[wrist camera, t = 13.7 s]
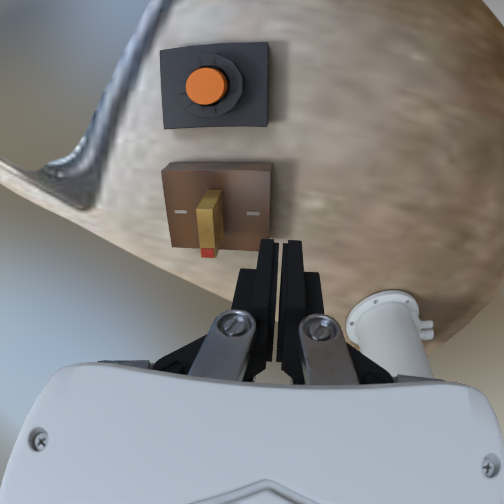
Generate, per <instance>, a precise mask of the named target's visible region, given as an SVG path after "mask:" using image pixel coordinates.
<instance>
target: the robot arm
mask: <svg viewBox="0 0 504 504" xmlns="http://www.w3.org/2000/svg"><path fill="white" fill-rule="evenodd" d="M278 252H279V243H274V239H261V241H260V248H259V255H258V262H257V268H256V269H243V268H241V269H240V272H239V276H238V281H237V285H236V290H235V294H234V298H233V303H232V307H231V310H227V311H225V312H222V313H221V314H219V315H218V316H217V317H216V318H215V320H214V322H213V324H212V326H211V328H210V330H209V332H208V334H207V335H205V336H203V337H201V338H199V339H197V340H195V341H193V342H191V343H190V344H188V345H186V346H184V347H182V348H180V349H178V350H176V351H174V352H172V353H170V354H168V355H166V356H164V357H162V358H161V359H159V360H158V361H157V362H156V363H150V361H149V360H136V361H106V360H104V361H98V362H95V363H94V362H88V363H79V364H73V365H69V366H66V367H63V368H61V369H60V370H58V371H57V372H56V373H55V374H53V375H52V377H51V378H50V379H49V380H48V381H47V383H46V384H45V386H44V387H43V389H42V390H41V392H40V394H39V395H38V397H37V398H36V400H35V402H34V404H33V406H32V408H31V410H30V411H29V413H28V416H27V418H26V420H25V422H24V424H23V426H22V429H21V431H20V433H19V436H18V438H17V441H16V443H15V446H14V448H13V451H12V453H11V456H10V459H9V461H8V464H7V468H6V471H5V474H4V477H3V481H2V485H1V488H0V504H504V439H503V435H502V432H501V429H500V425H499V423H498V420H497V417H496V414H495V412H494V410H493V408H492V406H491V404H490V402H489V400H488V399H487V397H486V396H485V395H484V394H483V393H482V392H481V391H479V390H478V389H476V388H474V387H471V386H468V385H465V384H461V383H456V382H447V381H444V380H441V379H434V376H433V373H432V371H431V367H430V364H429V361H428V358H427V355H426V352H425V349H424V346H423V344H422V341H421V340H432V339H433V336H434V331H433V329H430V328H432V327H433V321H432V320H427V321H421V320H420V319H419V307H418V304H417V302H416V300H415V299H414V298H413V297H412V296H411V295H410V294H408V293H406V292H403V291H398V290H389V291H383V292H379V293H376V294H373V295H371V296H369V297H367V298H365V299H364V300H362V301H361V302H360V303H358V304H357V305H356V306H355V307H354V308H353V309H352V311H351V312H350V314H349V315H348V318H347V321H346V330H347V334H348V337H349V338H350V340H351V341H353V342H354V343H355V344H357V345H359V347H360V352H359V351H358V350H356V349H355V348H353V347H352V346H351V345H349V344H348V343H346V341H345V338H344V335H343V333H342V330H341V327H340V325H339V323H338V322H337V321H336V320H335V319H334V318H332V317H330V316H328V315H324V307H323V299H322V291H321V283H320V276H319V273H318V272H304V266H303V253H302V241H298V240H288V243H283V252H282V268H281V283H280V298H279V319H278V339H277V358H276V362H282V365H281V366H282V367H281V370H283V371H284V372H285V373H286V374H288V375H289V376H290V385H289V384H287V385H286V384H268V383H255V378H256V375H257V374H258V373H260V372H262V371H263V370H264V369H266V361H269V362H272V351H273V338H274V324H275V310H276V293H277V273H278ZM423 328H424V329H423ZM421 329H423V330H421Z"/></svg>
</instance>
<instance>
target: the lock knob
mask: <svg viewBox="0 0 504 504" xmlns="http://www.w3.org/2000/svg"><path fill="white" fill-rule="evenodd" d="M196 213H197V223H198V233H199V243H200V252H201V257H205V258H216V256H217V253H218V250H219V247H220V244H221V241H222V238H223V235H224V222H223V202H222V190H207V192H206V193H205V195H204V197H203V198H202V200H201V202H200V203H199V205H198V207H197V209H196Z"/></svg>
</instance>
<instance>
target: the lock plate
mask: <svg viewBox="0 0 504 504" xmlns="http://www.w3.org/2000/svg"><path fill="white" fill-rule="evenodd" d="M161 174H162V182H163V190H164V197H165V204H166V211H167V218H168V225H169V231H170V237H171V243H172V247H180V248H200V243H199V233H198V223H197V213H196V209H197V207H198V205H199V203H200V202H201V200H202V198H203V197H204V195H205V193H206V192H207V190H222V202H223V222H224V235H223V238H222V241H221V244H220V247H219V249H224V250H245V251H259V248H260V241H261V239H270V217H271V180H272V163H261V162H184V163H169V164H168V165H167V166H166V167H165V168H164V169H163V170H162V171H161Z"/></svg>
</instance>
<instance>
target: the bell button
mask: <svg viewBox="0 0 504 504" xmlns="http://www.w3.org/2000/svg"><path fill="white" fill-rule="evenodd" d="M226 91H227V80H226V77H225V76H224V74H223V73H222V72H220V71H219V70H216V69H213V68H201V69H198V70H196V71H194V72H193V73H192V74H191V75H190V76H189V77H188V79H187V82H186V92H187V95H188V96H189V98H190V99H191V100H192V101H194V102H195V103H198V104H201V105H207V104H211V103H214V102H216V101H218V100H220V99H221V98H222V97H223V96H224V95H225V93H226Z"/></svg>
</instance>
